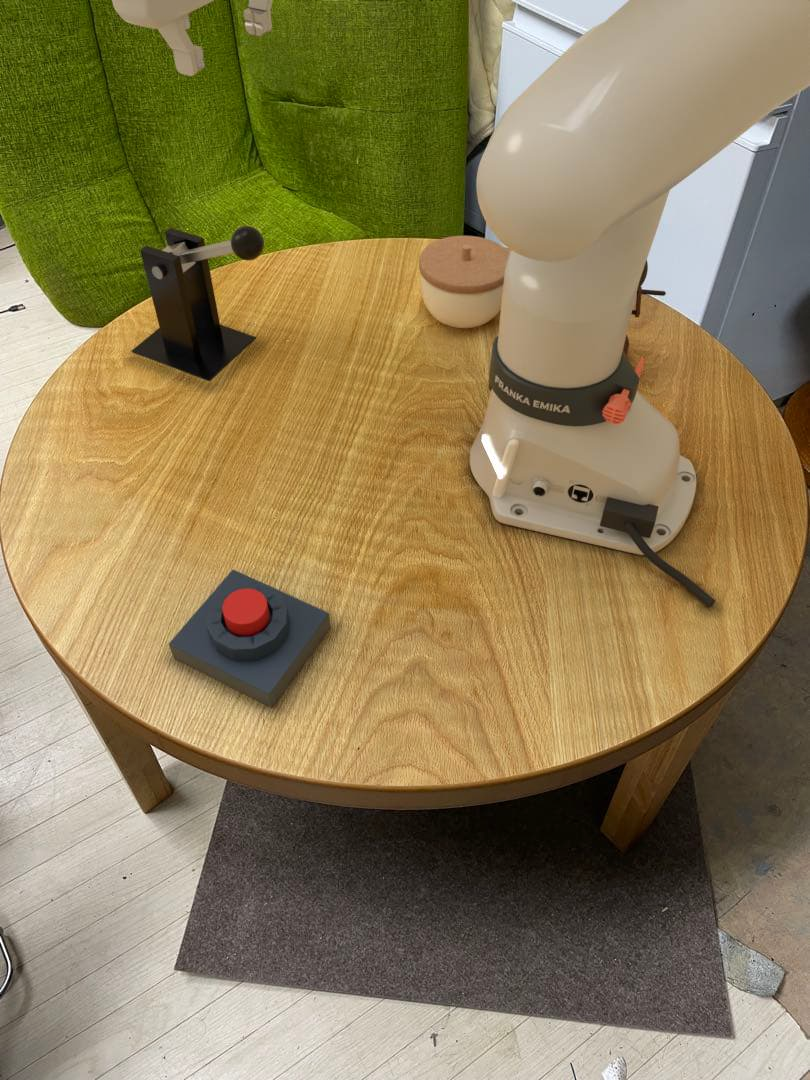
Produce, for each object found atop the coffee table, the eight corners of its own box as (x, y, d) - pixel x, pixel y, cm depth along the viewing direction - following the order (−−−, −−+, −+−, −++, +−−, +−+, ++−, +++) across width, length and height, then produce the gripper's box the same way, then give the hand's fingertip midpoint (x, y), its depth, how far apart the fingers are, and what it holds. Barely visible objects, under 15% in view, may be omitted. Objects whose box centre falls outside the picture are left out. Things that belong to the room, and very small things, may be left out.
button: (278, 611, 72) (275, 598, 70) (253, 643, 70) (250, 630, 68) (242, 594, 73) (239, 581, 71) (216, 625, 71) (213, 613, 69)
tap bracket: (257, 345, 101) (241, 236, 91) (211, 389, 96) (187, 279, 85) (182, 318, 104) (157, 211, 94) (133, 359, 99) (101, 250, 89)
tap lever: (275, 248, 85) (260, 217, 84) (257, 264, 83) (241, 232, 82) (184, 267, 94) (168, 239, 92) (165, 282, 92) (149, 254, 90)
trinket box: (509, 344, 101) (517, 273, 94) (417, 343, 101) (418, 272, 94) (504, 292, 108) (511, 222, 101) (418, 291, 108) (419, 221, 101)
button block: (331, 627, 75) (328, 600, 72) (272, 708, 70) (266, 682, 67) (236, 584, 78) (229, 555, 75) (173, 658, 73) (163, 631, 70)
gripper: (136, -121, 54) (178, 107, 65) (312, -182, 66) (323, 19, 76) (59, -134, 56) (112, 89, 67) (243, -191, 68) (264, 6, 78)
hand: (226, 51), depth 72 cm, fingers open, 8 cm apart
